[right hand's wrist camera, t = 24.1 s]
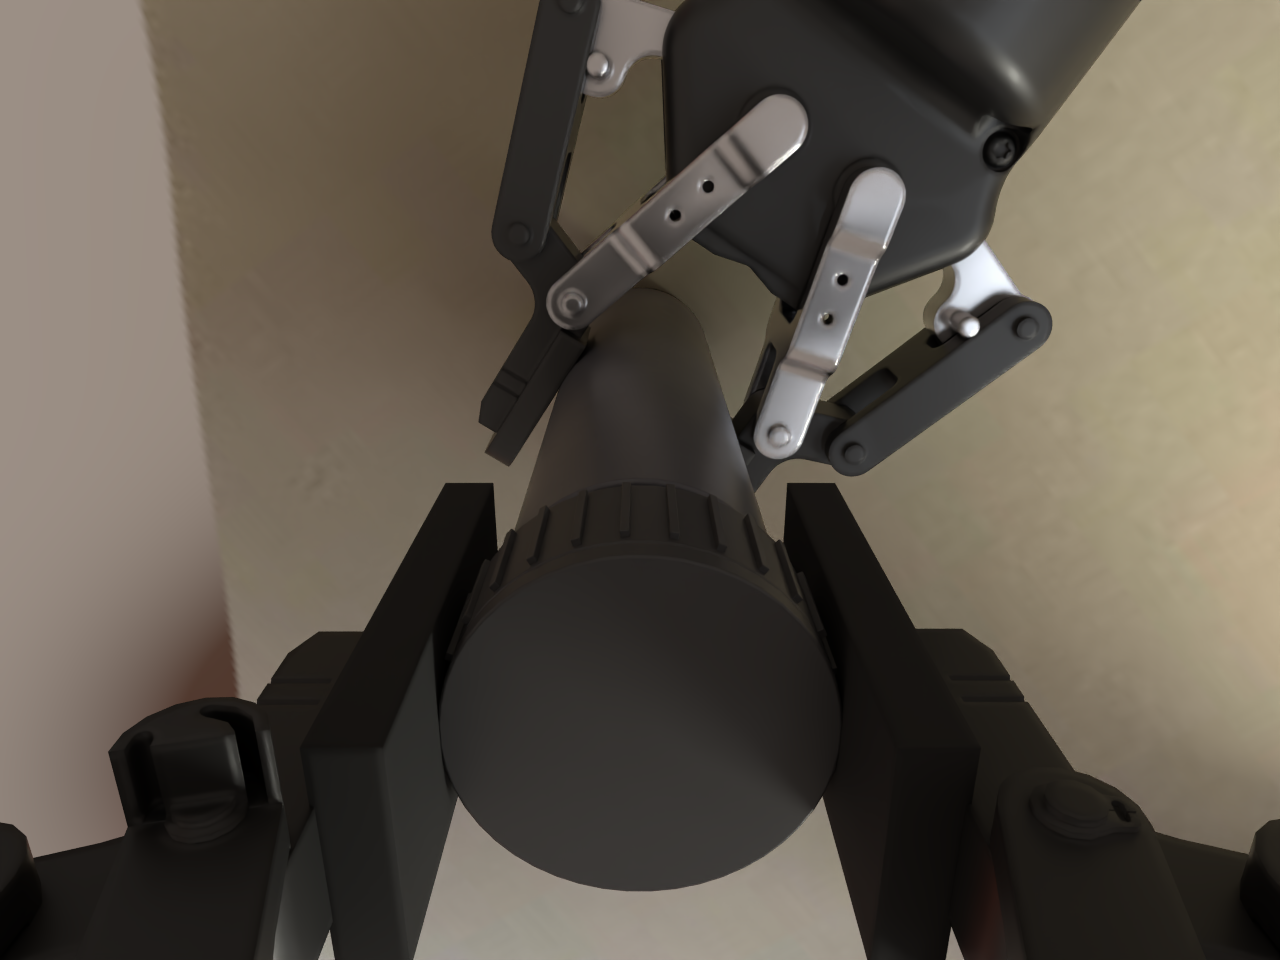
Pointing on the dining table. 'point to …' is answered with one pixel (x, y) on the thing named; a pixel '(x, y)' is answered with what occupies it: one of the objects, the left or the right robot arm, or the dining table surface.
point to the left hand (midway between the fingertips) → (584, 495)
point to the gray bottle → (641, 412)
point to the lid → (640, 692)
